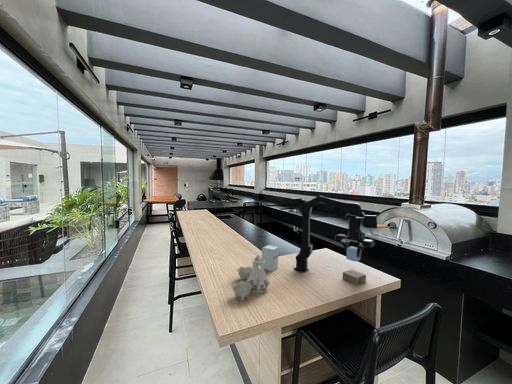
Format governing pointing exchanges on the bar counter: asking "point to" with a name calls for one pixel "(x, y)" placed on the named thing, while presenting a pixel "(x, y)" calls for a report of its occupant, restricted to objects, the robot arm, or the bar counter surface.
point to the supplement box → (270, 257)
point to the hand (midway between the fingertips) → (353, 256)
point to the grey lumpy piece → (251, 279)
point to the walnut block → (354, 277)
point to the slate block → (352, 254)
